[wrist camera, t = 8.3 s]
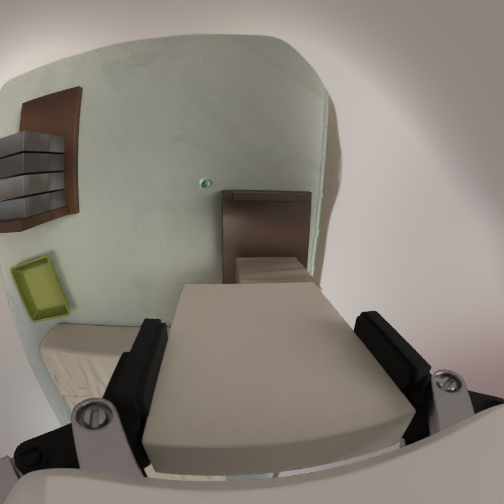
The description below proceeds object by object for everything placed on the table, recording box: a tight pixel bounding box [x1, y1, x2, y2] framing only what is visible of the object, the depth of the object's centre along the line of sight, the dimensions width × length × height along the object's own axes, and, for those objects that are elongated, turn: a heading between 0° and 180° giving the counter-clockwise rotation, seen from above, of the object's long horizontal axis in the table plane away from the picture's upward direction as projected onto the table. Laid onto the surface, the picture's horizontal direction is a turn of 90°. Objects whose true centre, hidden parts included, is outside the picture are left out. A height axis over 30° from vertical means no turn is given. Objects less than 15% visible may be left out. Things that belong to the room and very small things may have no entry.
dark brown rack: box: [222, 190, 322, 292], centre depth 28 cm, size 14×10×11 cm
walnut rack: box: [0, 86, 82, 233], centre depth 22 cm, size 16×10×11 cm, turn 179°
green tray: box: [11, 255, 70, 322], centre depth 31 cm, size 9×9×2 cm
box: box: [39, 323, 226, 481], centre depth 35 cm, size 23×8×32 cm
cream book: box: [142, 282, 416, 476], centre depth 10 cm, size 2×7×10 cm, turn 89°
